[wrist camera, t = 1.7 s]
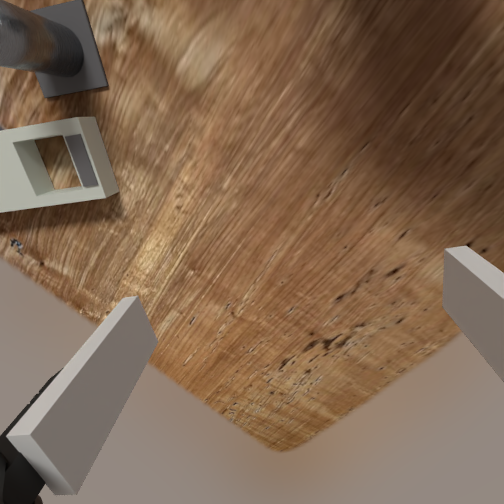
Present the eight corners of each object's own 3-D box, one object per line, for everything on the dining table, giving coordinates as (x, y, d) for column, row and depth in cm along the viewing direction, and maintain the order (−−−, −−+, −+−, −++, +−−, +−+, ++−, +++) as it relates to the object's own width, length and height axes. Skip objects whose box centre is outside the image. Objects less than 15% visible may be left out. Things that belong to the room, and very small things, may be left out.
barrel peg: (31, 28, 29) (-83, -11, 20) (73, 19, 28) (-25, -26, 19) (50, 81, 30) (-46, 67, 21) (90, 73, 30) (8, 55, 21)
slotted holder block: (-51, 142, 34) (-81, 145, 31) (94, 116, 32) (76, 117, 29) (-15, 210, 37) (-40, 218, 35) (119, 191, 35) (105, 198, 32)
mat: (15, 16, 29) (13, 15, 28) (82, 0, 28) (80, -2, 27) (46, 97, 31) (44, 97, 31) (108, 85, 30) (107, 85, 30)
